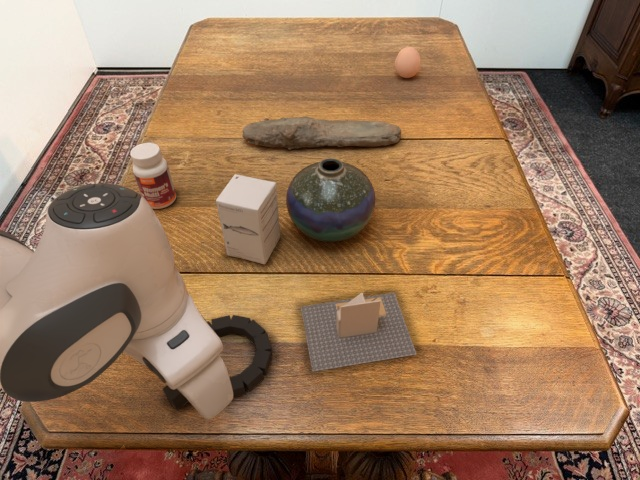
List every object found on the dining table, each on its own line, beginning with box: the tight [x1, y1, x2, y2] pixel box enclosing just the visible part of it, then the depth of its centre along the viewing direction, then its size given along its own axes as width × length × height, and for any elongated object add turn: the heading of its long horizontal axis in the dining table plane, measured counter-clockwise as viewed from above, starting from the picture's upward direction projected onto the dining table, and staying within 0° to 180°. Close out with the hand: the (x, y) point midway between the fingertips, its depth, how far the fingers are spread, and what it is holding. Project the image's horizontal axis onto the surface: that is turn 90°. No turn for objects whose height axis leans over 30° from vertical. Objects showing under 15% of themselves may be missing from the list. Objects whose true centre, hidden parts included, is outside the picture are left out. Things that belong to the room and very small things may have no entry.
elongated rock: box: [241, 116, 402, 151], centre depth 104 cm, size 35×5×10 cm
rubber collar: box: [162, 314, 273, 411], centre depth 65 cm, size 15×12×3 cm
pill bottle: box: [129, 142, 177, 210], centre depth 87 cm, size 6×6×11 cm
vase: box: [285, 157, 376, 243], centre depth 81 cm, size 15×15×13 cm
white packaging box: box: [215, 173, 281, 265], centre depth 78 cm, size 7×7×13 cm
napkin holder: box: [335, 292, 387, 338], centre depth 68 cm, size 3×7×7 cm, turn 100°
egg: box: [394, 46, 422, 79], centre depth 123 cm, size 7×7×8 cm
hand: (180, 376), depth 60 cm, fingers open, 8 cm apart
